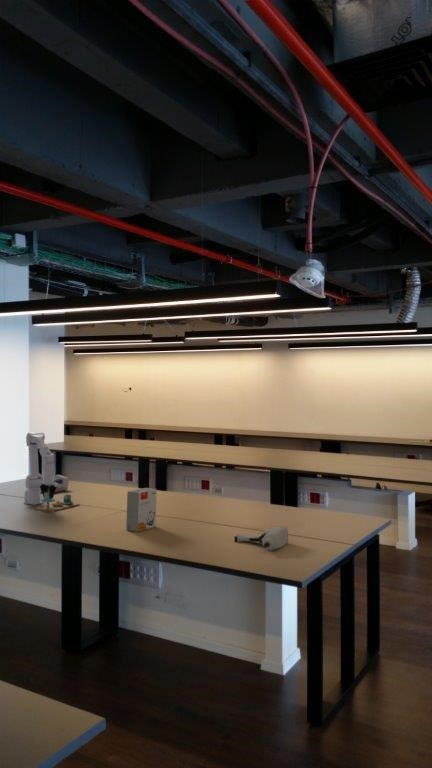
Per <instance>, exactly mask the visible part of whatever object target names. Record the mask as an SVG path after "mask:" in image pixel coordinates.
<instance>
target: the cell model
mask: <svg viewBox="0 0 432 768" xmlns="http://www.w3.org/2000/svg"><path fill="white" fill-rule="evenodd" d="M53 482H56V483H59V484H58V487H57V488H56V490H55V492H54V494H55V493H57V492H63V491H67V490H68V488H69V482H70V481H69V477H68V476H64V475H61V474H56V475H55V476H54V478H53ZM49 485H50V484H49ZM47 492H49V490H48V491H47ZM41 493H42V490H41Z"/></svg>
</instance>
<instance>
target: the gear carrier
mask: <svg viewBox="0 0 432 768" xmlns="http://www.w3.org/2000/svg"><path fill="white" fill-rule="evenodd" d="M79 506H80V503H76V502H74V500H72V494H69V493H66V494H64V495H63V500H62V501H59V500H56V501H53V502H52V504H50V502H46V504H45V505H42V506H38V507H35V510H36V511H42V512H46V513H54V512H58V511H63V510H66V509H67V510H68V509H71V508H75V507H79Z"/></svg>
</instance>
